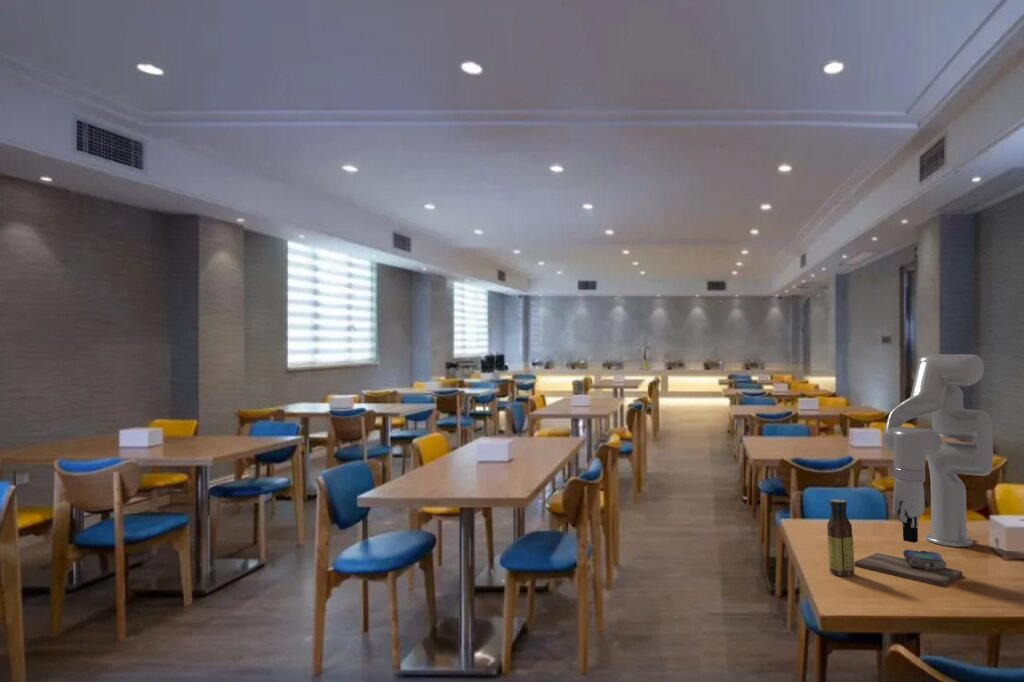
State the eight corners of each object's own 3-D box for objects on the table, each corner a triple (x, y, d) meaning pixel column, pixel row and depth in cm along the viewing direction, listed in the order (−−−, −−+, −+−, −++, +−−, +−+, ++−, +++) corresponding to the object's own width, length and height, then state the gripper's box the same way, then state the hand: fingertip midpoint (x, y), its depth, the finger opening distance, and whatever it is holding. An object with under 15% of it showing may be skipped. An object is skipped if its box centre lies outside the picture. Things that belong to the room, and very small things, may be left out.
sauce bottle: (852, 571, 185) (851, 498, 186) (856, 578, 179) (855, 503, 180) (826, 569, 187) (825, 497, 188) (829, 576, 181) (828, 501, 182)
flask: (940, 552, 190) (947, 562, 180) (940, 562, 190) (947, 573, 180) (902, 548, 193) (907, 558, 184) (902, 558, 193) (907, 569, 184)
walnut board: (876, 556, 199) (876, 552, 199) (962, 575, 182) (962, 571, 182) (854, 566, 190) (854, 561, 190) (942, 586, 173) (941, 581, 173)
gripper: (906, 470, 196) (907, 534, 195) (883, 476, 187) (884, 542, 186) (935, 474, 190) (936, 539, 189) (912, 479, 181) (914, 548, 180)
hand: (910, 541), depth 188 cm, fingers closed
